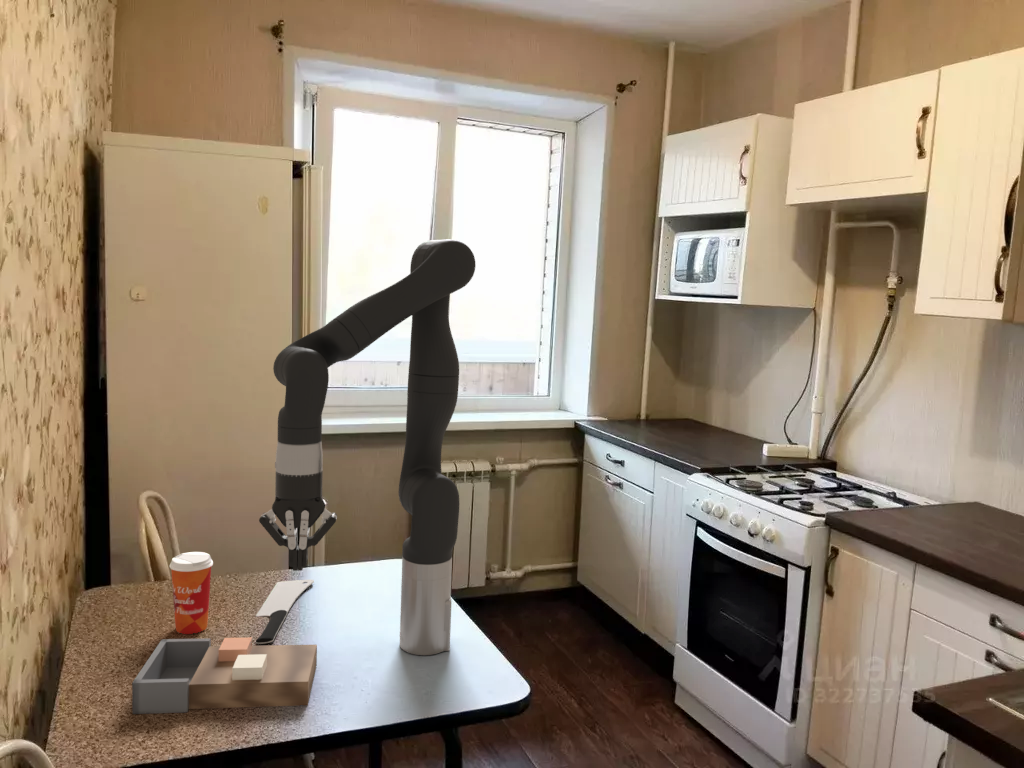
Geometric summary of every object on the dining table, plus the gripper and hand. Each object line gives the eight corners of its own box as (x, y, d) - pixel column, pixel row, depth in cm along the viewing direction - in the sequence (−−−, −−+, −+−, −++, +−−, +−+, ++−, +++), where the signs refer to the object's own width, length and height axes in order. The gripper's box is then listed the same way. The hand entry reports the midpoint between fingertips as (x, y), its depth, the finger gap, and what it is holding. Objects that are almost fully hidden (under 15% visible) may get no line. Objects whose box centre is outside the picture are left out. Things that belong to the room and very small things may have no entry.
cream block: (266, 665, 128) (266, 654, 128) (261, 679, 124) (262, 667, 124) (238, 666, 128) (238, 654, 127) (232, 680, 123) (232, 668, 123)
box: (210, 665, 135) (210, 638, 135) (187, 712, 121) (187, 681, 120) (162, 667, 134) (161, 639, 134) (132, 713, 120) (132, 683, 119)
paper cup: (160, 633, 147) (160, 561, 145) (187, 617, 154) (186, 548, 153) (197, 639, 145) (197, 566, 143) (222, 623, 152) (222, 553, 151)
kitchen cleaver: (270, 579, 175) (314, 575, 175) (270, 586, 175) (315, 582, 175) (223, 642, 144) (278, 637, 144) (225, 650, 144) (279, 646, 144)
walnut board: (316, 666, 137) (316, 644, 137) (307, 705, 124) (308, 681, 124) (209, 668, 134) (209, 646, 134) (189, 708, 122) (189, 684, 121)
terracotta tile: (252, 648, 134) (252, 637, 134) (246, 660, 130) (246, 649, 129) (224, 649, 133) (224, 637, 133) (218, 661, 129) (218, 649, 129)
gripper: (342, 463, 134) (340, 561, 136) (261, 462, 132) (261, 561, 134) (338, 473, 126) (336, 577, 128) (253, 472, 124) (252, 577, 126)
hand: (297, 568), depth 131 cm, fingers closed
